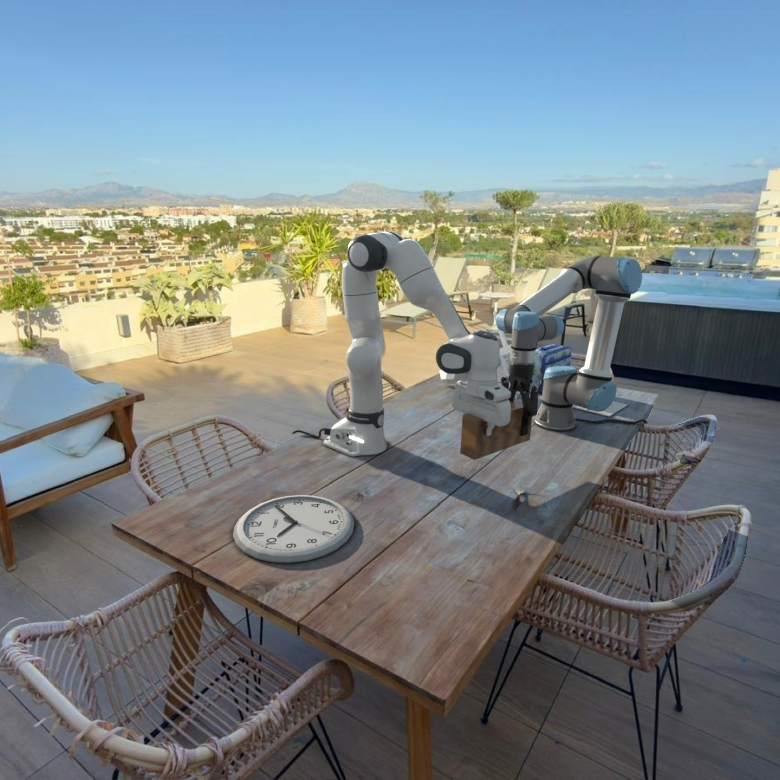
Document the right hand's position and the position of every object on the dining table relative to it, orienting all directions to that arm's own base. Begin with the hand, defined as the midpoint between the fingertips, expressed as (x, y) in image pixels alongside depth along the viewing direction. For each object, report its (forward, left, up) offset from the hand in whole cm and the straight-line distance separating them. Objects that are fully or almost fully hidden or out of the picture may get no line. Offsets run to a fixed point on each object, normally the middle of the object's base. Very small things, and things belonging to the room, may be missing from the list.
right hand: (515, 431), depth 169 cm
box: (+6, +6, -3) cm, 9 cm away
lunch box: (-25, -85, -10) cm, 89 cm away
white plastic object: (+8, -74, -10) cm, 75 cm away
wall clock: (+59, +49, -10) cm, 77 cm away
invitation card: (-44, -62, -10) cm, 77 cm away
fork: (+1, +26, -10) cm, 28 cm away
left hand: (+13, +13, +4) cm, 18 cm away
